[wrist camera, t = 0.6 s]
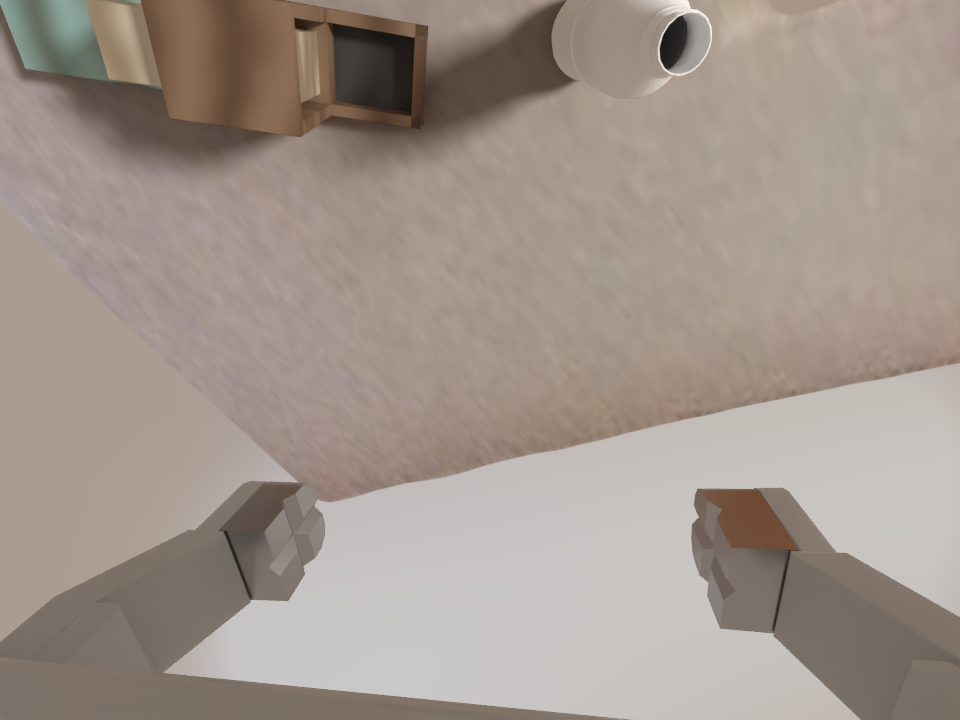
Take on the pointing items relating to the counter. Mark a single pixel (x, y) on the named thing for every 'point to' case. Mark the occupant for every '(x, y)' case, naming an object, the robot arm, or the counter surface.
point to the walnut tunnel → (244, 60)
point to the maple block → (133, 53)
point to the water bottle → (629, 43)
